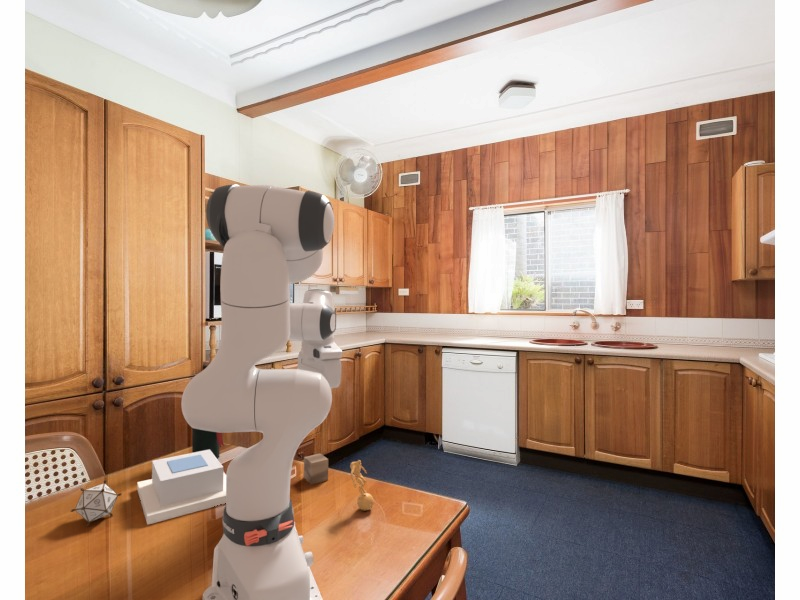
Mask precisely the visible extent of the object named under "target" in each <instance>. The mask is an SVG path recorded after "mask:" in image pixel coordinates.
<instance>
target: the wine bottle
mask: <svg viewBox="0 0 800 600" xmlns="http://www.w3.org/2000/svg"><path fill="white" fill-rule="evenodd" d="M211 362H212V361H210V360H204V361H202V371H203V370H204V369H205V368H206V367H207V366H208V365H209V364H210V363H211ZM191 437H192V444H191V445H192V447H191V450H192V451H191V453H194V452H199V451H204V450H209V449H210V450H211V452H212V453H213V454H214V455H215V457H216V458H217V459H218V460H219V458H220V448H221V446H223V447H224V442H223V439H222V433H219V432H212V431H205V430H200V429H194V428H192V436H191Z"/></svg>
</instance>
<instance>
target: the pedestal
mask: <svg viewBox="0 0 800 600" xmlns="http://www.w3.org/2000/svg"><path fill="white" fill-rule="evenodd" d="M136 483H137V485H136V486H137V487H136V488H137V494H138V496H139V501H140V500H141V501H140V504H141V508H142V510H143V515H144V518H145V521H146V525H147V526H148V525H151V524H152V525H153V524H155V523H158V522H159V523H160V522H163V521H167V520H170V519H175V518H177V517H181V516H184V515H188V514H192V513H195V512H199V511H200V512H201V511H203V510H207V509H210V508H213V507H214V506H215V507H218V506H221V505H220V504H222V505H224V504H225V503H226V473H225V471H224V466H223V465H222V463H221V462H220V461H219V458H218V459H217V458H216V457H215V455H214V454H213V453H212V452H211V450H210V449H209V450H204V451H199V452H194V453H192V452H190V453H183V454H179V455H175V456H170V457H164V458H159V459H154V460H152V461H151V479H146V480H141V481H137V482H136ZM217 505H218V506H217ZM225 505H226V504H225ZM215 507H214V508H215Z"/></svg>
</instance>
